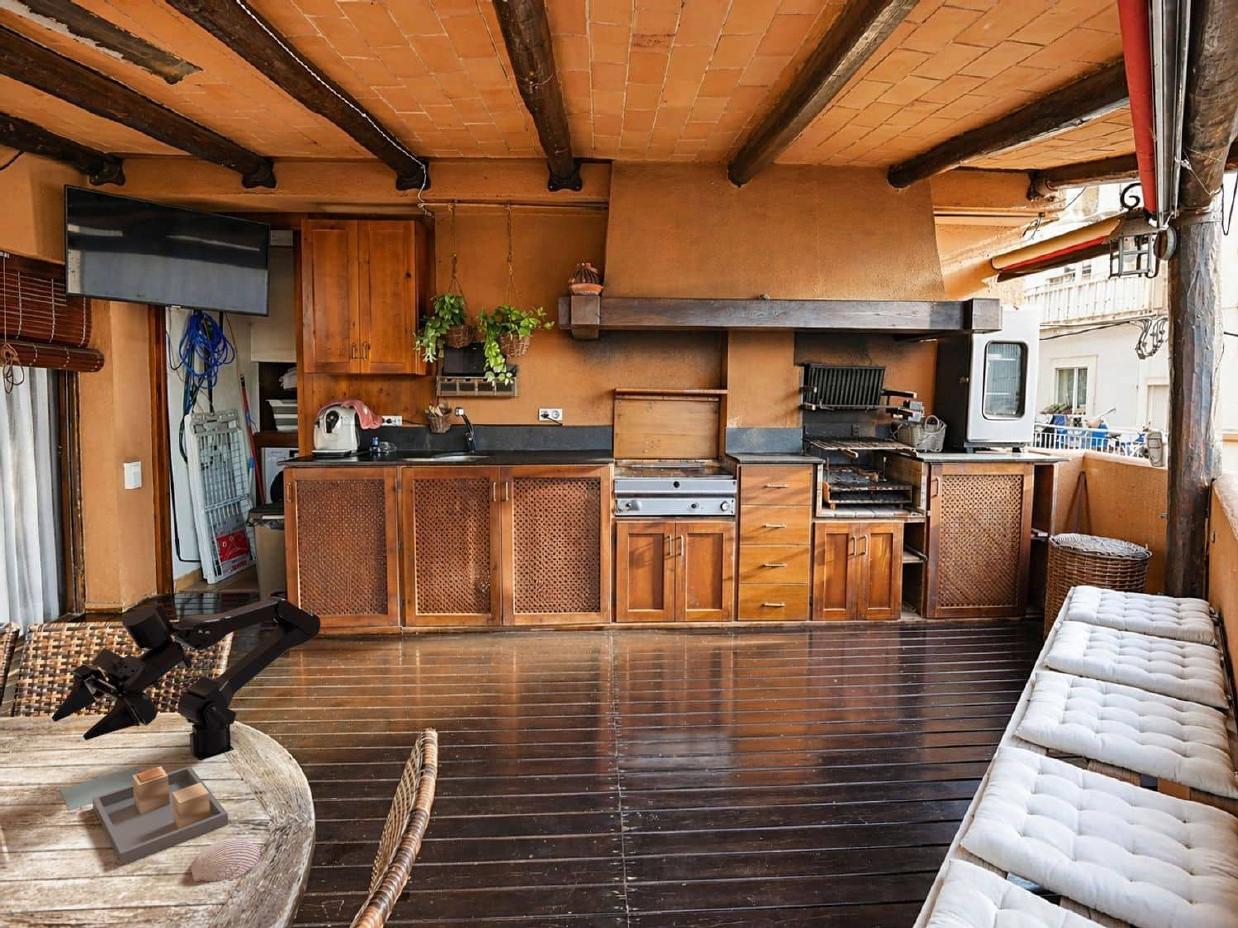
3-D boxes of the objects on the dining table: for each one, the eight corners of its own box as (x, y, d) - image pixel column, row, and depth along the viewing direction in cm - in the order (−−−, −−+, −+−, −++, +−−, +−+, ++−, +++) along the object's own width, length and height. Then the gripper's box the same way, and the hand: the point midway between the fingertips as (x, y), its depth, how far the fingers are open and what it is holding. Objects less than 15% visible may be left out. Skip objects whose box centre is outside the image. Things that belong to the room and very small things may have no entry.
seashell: (168, 859, 114) (224, 812, 123) (178, 886, 116) (233, 839, 124) (213, 877, 110) (268, 828, 118) (222, 905, 111) (276, 855, 120)
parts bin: (190, 777, 142) (190, 765, 142) (228, 826, 127) (227, 813, 127) (93, 810, 131) (92, 797, 131) (121, 868, 116) (120, 853, 116)
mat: (135, 768, 145) (135, 766, 145) (147, 786, 139) (147, 784, 139) (60, 792, 137) (59, 789, 137) (69, 812, 131) (68, 810, 130)
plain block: (202, 811, 131) (200, 782, 130) (210, 822, 127) (208, 792, 127) (173, 822, 127) (171, 792, 127) (181, 833, 124) (179, 803, 124)
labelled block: (162, 794, 136) (161, 764, 135) (169, 804, 133) (167, 774, 132) (134, 803, 133) (132, 774, 132) (140, 814, 129) (138, 783, 129)
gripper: (102, 621, 140) (15, 679, 128) (166, 651, 132) (80, 716, 121) (126, 662, 146) (45, 722, 134) (188, 693, 138) (108, 759, 126)
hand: (68, 728), depth 129 cm, fingers open, 9 cm apart
